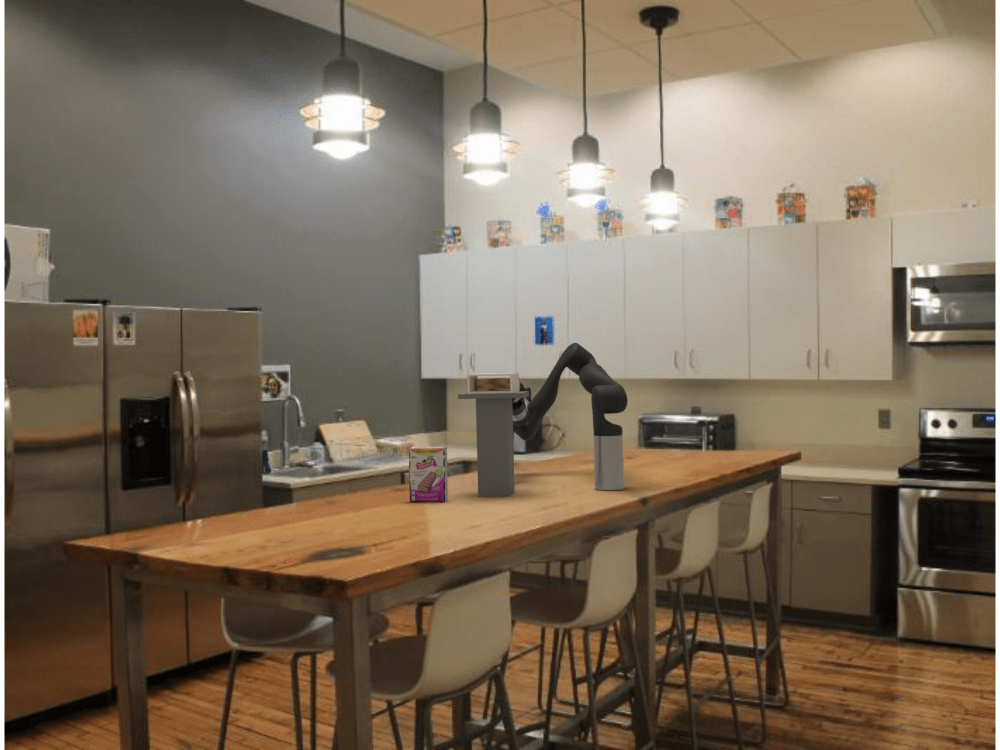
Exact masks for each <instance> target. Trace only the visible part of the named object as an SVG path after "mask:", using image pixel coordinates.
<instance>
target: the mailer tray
mask: <svg viewBox="0 0 1000 750" xmlns="http://www.w3.org/2000/svg"><path fill="white" fill-rule="evenodd" d="M520 382H521V380H520V377H519V388H520ZM476 390H478V391H479V390H510V377H487V378H478V379H476Z"/></svg>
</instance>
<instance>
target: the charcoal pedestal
mask: <svg viewBox="0 0 1000 750" xmlns="http://www.w3.org/2000/svg"><path fill="white" fill-rule="evenodd" d="M528 396H529V391H522V392H515V393H491V394H468V392H464V393H458V394H457V399H458V400H475V422H476V423H475V425H476V428H475V429H476V460H477V461H476V462H477V465H476V466H477V468H476V469H477V496H478V497H482V498H483V497H484V498H485V496H486V498H488V497H487V496H489V498H490V497H491V498H492V497H493V498H494V497H496V498H497V497H499V498H500V497H501V498H503V496H510V497H511V496H513V495H514V494H515V491H516V490H515V489H516V488H515V457H514V456H515V455H514V452H515V451H514V447H515V446H514V432H513V409H512V398H524V397H528Z"/></svg>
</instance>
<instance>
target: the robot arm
mask: <svg viewBox="0 0 1000 750" xmlns="http://www.w3.org/2000/svg"><path fill="white" fill-rule="evenodd" d="M566 368H567V369H568V370H570V371H571V372H572V373H574V374H575V375H576V376H578V380H579V382H580V385H581V386H582V387H583V389H584V390H585V391H586V392H588V393H589V394H591V398H590V399H591V410H592V411H591V412H592V426H593V427H592V428H593V459H594V489H596V490H598V491H599V490H600V491H617V490H618V491H619V490H620V491H621V490H624V489H625V459H624V447H623V445H624V444H623V443H624V442H623V441H624V439H623V437H624V436H623V426H621V425H620V424H616V423H613V422H611V421H609V420H607V419H606V417H605V416H606V415H610V414H611V415H612V414H616V415H617V414H620V413H623V412H624V411H625V410H626V409H627V407H628V396H627V391H626V390H625V388H624V387H623V386H622V385H621V384H620V383H618V382H617V381H615V379H613V378H612V377H611V376H610V375H609V374H608V372H607V371H606V370H605V369H604V368H603V367H602V366H601V365H600V364H598V362H597V360H596V358H595V357H594V355H593V354H592V353H591V352H590V351H589V350H587V349H586V348H584V347H583V346H582V345H581V344H579V343H577V342H573V343H571V344H569V345H568V346H567V347H566V348H565V350H564V351H563V352H562V353H561V355H560V357H558V359H557V362H556V363H555V365H554V366H553V368H552V369H551V371H550V373H549V374H548V376H547V378H546V379H545V381H544V383H543V385H542V386H541V387H540V389H539V391H538V392H536V394H535V395H534V397H533V398H532V396H533V395H532V390H531V387H525V386H524V384H523V383H522V382H521V381H520V388H519V392H522V391H529V396H528V397H524V398H512V409H513V433H514V434H515V435H517V436H518V437H519V438H520V439H521V440H522V441H524V442H525V441H530V440H532V439H533V438H534V437H535V436H536V434H537V432H538V429H539V427H540V425H541V422H542V421H543V418H544V417H545V415H546V414H547V413H548V411H549V410H550V409H551V408H552V406H553V405H554V404H555V402H556V399H557V398H558V392H559V385H560V381H561V377H562V375H563V372H564V371H565V370H566ZM525 400H526V401H527V402H529V403H528V404H526V402H525ZM528 411H529V412H528ZM529 413H530V415H531V416H529ZM530 417H531V418H530ZM529 418H530V419H529Z"/></svg>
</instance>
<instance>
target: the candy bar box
mask: <svg viewBox="0 0 1000 750" xmlns="http://www.w3.org/2000/svg"><path fill="white" fill-rule="evenodd" d="M408 466H409V467H408V471H409V474H408V477H409V480H408V481H409V502H410V503H445V502H447V501H448V499H449V490H448V489H449V488H448V486H449V485H448V483H449V479H448V447H447V446H412V447H409V448H408Z"/></svg>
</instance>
